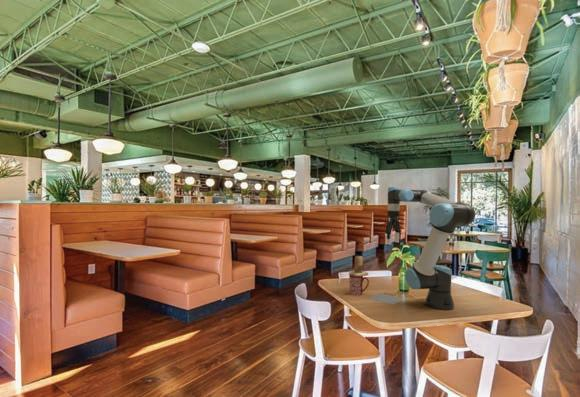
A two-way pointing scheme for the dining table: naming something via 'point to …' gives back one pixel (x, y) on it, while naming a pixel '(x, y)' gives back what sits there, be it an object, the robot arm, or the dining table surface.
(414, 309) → the dining table surface
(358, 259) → the lid
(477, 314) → the dining table surface
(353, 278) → the mug
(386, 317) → the dining table surface
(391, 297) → the mat
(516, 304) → the dining table surface
